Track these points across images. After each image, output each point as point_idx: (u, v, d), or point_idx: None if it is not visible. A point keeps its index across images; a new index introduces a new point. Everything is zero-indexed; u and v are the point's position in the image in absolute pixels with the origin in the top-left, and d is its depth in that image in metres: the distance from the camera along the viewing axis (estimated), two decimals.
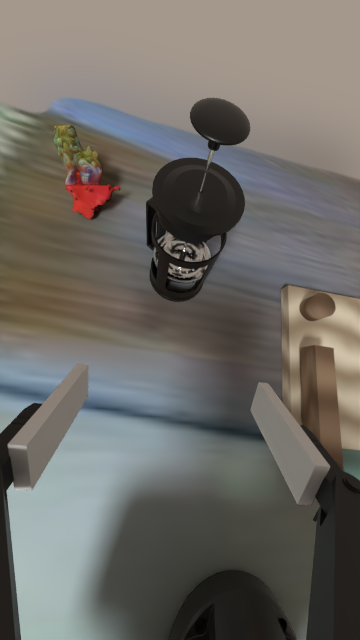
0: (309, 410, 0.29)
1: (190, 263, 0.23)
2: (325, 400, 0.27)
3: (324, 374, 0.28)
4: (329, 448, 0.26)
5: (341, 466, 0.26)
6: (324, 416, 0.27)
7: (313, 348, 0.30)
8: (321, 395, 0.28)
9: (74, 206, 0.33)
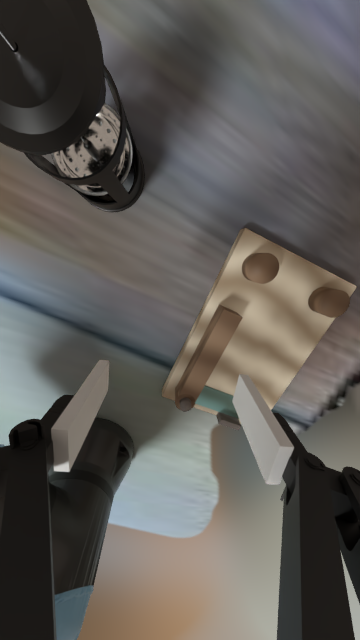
0: (194, 358, 0.32)
1: (58, 177, 0.17)
2: (206, 357, 0.30)
3: (218, 337, 0.29)
4: (190, 388, 0.31)
5: (194, 400, 0.32)
6: (199, 367, 0.30)
7: (221, 311, 0.28)
8: (205, 352, 0.30)
9: None
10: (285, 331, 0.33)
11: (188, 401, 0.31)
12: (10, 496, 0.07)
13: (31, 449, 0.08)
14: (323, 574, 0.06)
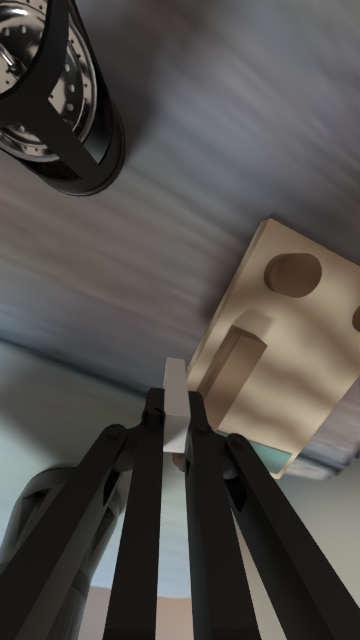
0: None
1: None
2: (215, 400, 0.21)
3: (232, 373, 0.20)
4: None
5: None
6: None
7: (237, 337, 0.20)
8: (214, 393, 0.21)
9: None
10: (320, 357, 0.24)
11: None
12: (137, 463, 0.09)
13: (154, 431, 0.10)
14: (219, 532, 0.07)
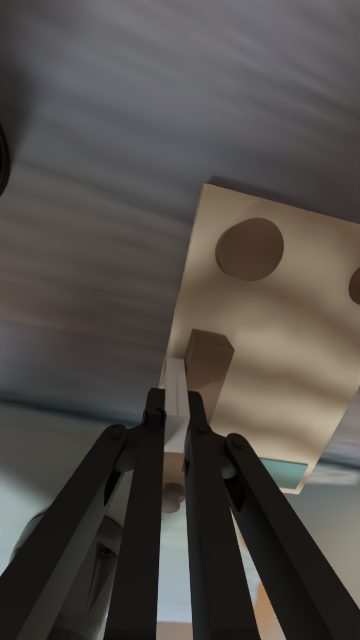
0: None
1: None
2: None
3: (198, 391, 0.16)
4: (173, 473, 0.19)
5: (184, 489, 0.19)
6: None
7: (194, 346, 0.15)
8: None
9: None
10: (316, 347, 0.19)
11: (173, 497, 0.19)
12: (138, 463, 0.09)
13: (154, 431, 0.10)
14: (219, 532, 0.07)
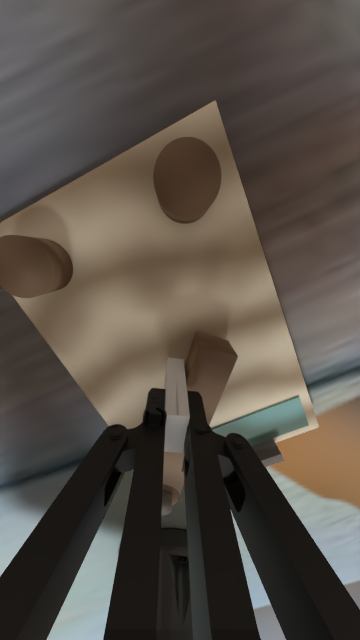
0: None
1: None
2: None
3: None
4: (167, 476, 0.19)
5: (177, 493, 0.19)
6: None
7: (197, 350, 0.15)
8: None
9: None
10: (193, 289, 0.17)
11: (166, 499, 0.18)
12: (138, 463, 0.09)
13: (155, 431, 0.10)
14: (218, 532, 0.07)
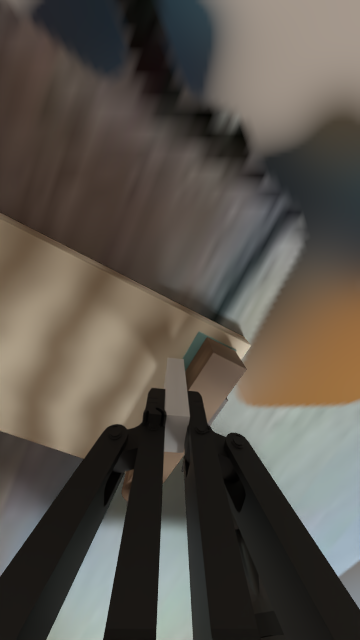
0: None
1: None
2: None
3: None
4: None
5: None
6: None
7: (209, 355, 0.15)
8: None
9: None
10: (19, 309, 0.17)
11: None
12: (138, 463, 0.09)
13: (154, 431, 0.10)
14: (219, 532, 0.07)
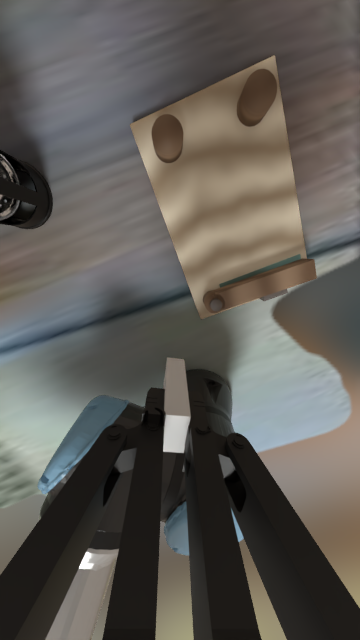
0: (251, 278, 0.33)
1: None
2: (266, 283, 0.31)
3: (288, 276, 0.31)
4: (231, 296, 0.32)
5: (222, 309, 0.33)
6: (253, 286, 0.31)
7: (309, 260, 0.31)
8: (269, 279, 0.31)
9: None
10: (247, 170, 0.29)
11: (221, 303, 0.32)
12: (137, 463, 0.09)
13: (154, 431, 0.10)
14: (219, 533, 0.07)
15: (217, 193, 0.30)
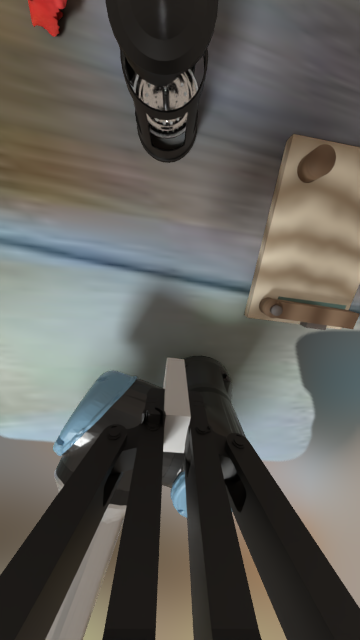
0: (307, 304, 0.38)
1: (165, 113, 0.22)
2: (319, 313, 0.37)
3: (336, 317, 0.37)
4: (289, 310, 0.36)
5: (276, 316, 0.37)
6: (309, 311, 0.37)
7: (355, 313, 0.37)
8: (323, 311, 0.37)
9: (32, 14, 0.26)
10: (349, 222, 0.35)
11: None
12: (137, 463, 0.09)
13: (154, 431, 0.10)
14: (219, 532, 0.07)
15: (320, 226, 0.35)
